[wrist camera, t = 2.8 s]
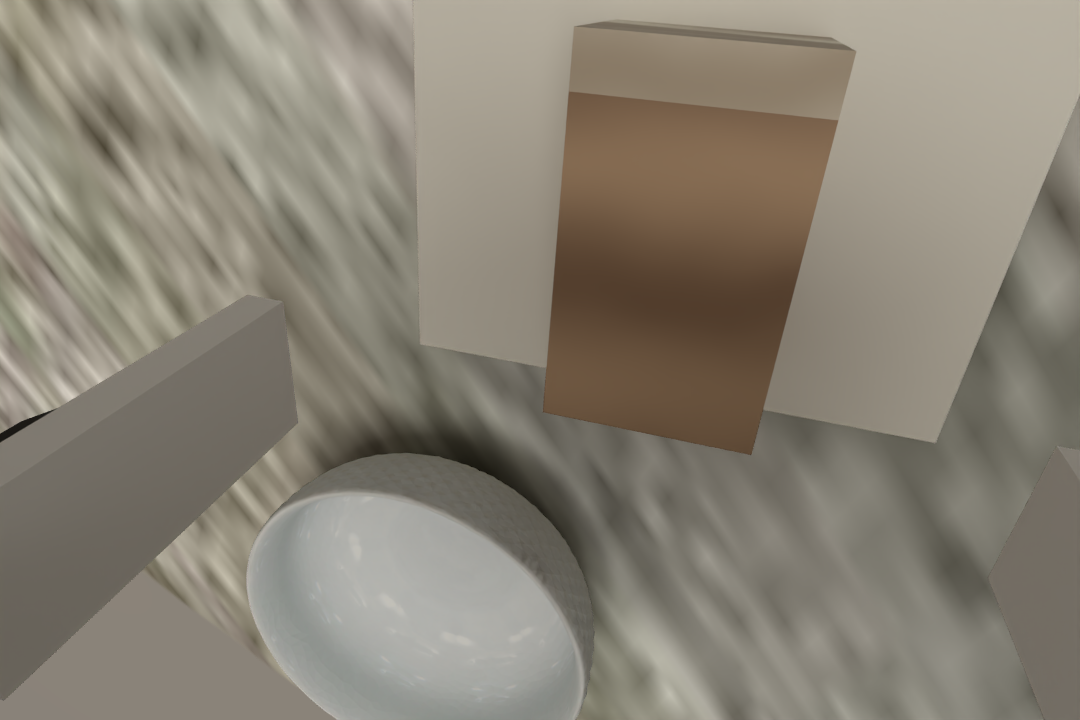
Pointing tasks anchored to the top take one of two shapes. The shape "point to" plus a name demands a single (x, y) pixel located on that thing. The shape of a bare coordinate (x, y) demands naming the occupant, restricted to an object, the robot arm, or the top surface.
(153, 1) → the top surface
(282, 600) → the cereal bowl
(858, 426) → the mat
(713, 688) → the top surface
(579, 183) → the block
